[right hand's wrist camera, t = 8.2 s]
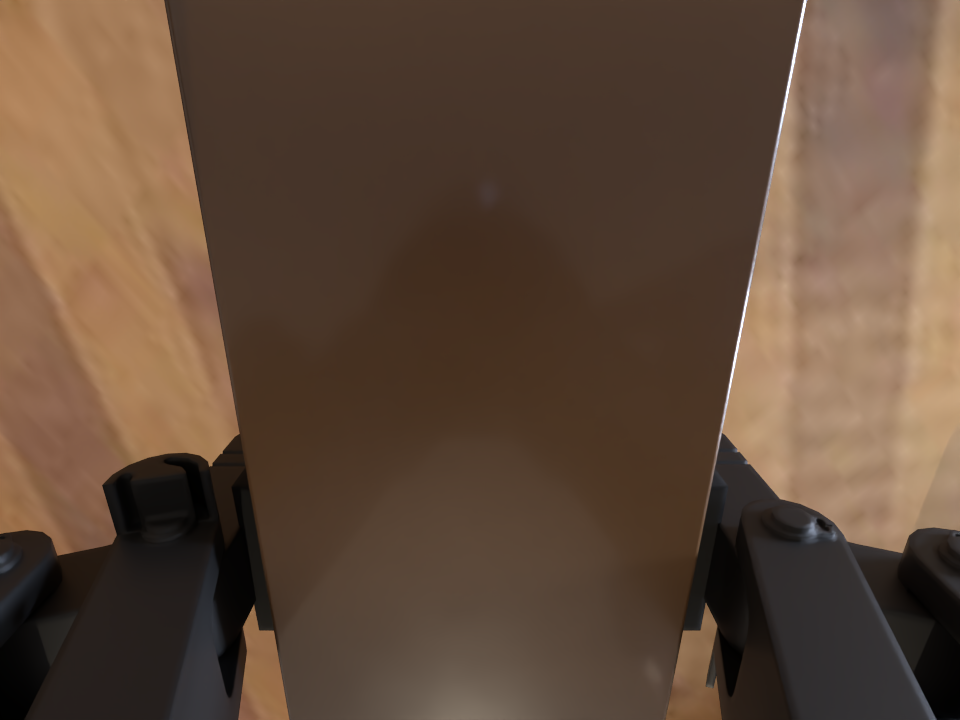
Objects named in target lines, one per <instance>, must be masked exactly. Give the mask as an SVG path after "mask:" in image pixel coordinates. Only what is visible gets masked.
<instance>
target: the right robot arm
mask: <svg viewBox="0 0 960 720" xmlns="http://www.w3.org/2000/svg"><path fill="white" fill-rule="evenodd" d="M102 486H103V490H104V493H105V496H106V500H107V503H108V506H109V510H110V513H111V517H112V520H113V523H114V527H115V530H116V533H117V536H116V538H115V540H114V542H113V544H112V545H108V546H104V547H99V548H94V549H89V550H84V551H79V552H74V553H69V554H64V555H59V556H57V553H56V551H55V548H54V545H53V542H52V539H51V538H50V537H49V536H47V535H46V534H45V533H43V532H38V531H29V530H25V531H18V532H10V533H3V534H0V720H238V716H239V708H240V701H241V693H242V685H243V677H244V669H245V661H246V654H247V649H246V642H245V636H244V631H243V625H244V623H245V621H246V619H247V617H248V615H249V613H250V611H251V609H252V607H253V605H254V606H255V611H256V616H257V621H258V626H259V630H274V627H273V621H272V616H271V610H270V604H269V599H268V593H267V587H266V581H265V576H264V570H263V564H262V558H261V553H260V547H259V541H258V535H257V530H256V524H255V518H254V512H253V507H252V501H251V495H250V489H249V484H248V478H247V472H246V466H245V461H244V455H243V449H242V443H241V438H240V434H239V435H237V436H236V437H235V438H234V439H233V440H232V441H231V442H230V443H229V445H228V446H227V447H226V448H225V449H224V450H223V454H220V455H219V456H218V458H217V459H216V460H215V461H214V462H213V466H210V467H209V465H208V461H206V460H205V459H204V458H202V457H201V456H199V455H194V454H189V453H173V454H164V455H159V456H155V457H150V458H147V459H144V460H141V461H139V462H136V463H133V464H131V465H128V466H127V467H125V468H123V469H121V470H120V471H118V472H116V473H115V474H113V475H112V476H111V477H110V478H109V479H108V480H107V481H106V482H105V483H104V484H103V485H102ZM705 603H707V605H708V607H709V609H710V611H711V613H712V615H713V617H714V619H715V621H716V623H717V625H718V627H717V631H716V636H715V641H714V646H713V650H712V655H711V660H710V665H709V669H708V674H707V681H706V687H710V688H714V683H715V679H716V676H717V684H718V691H719V699H720V707H721V715H722V720H960V531H956V530H947V529H940V528H926V529H918V530H916V531H915V532H914V533H912V534H911V535H909V538H908V541H907V543H906V546H905V549H904V552H903V553H898V552H893V551H888V550H883V549H878V548H873V547H868V546H863V545H858V544H854V543H850V542H847V541H846V539H845V537H844V535H843V534H842V532H841V531H840V530H839V529H838V527H837V526H836V525H835V524H834V523H833V522H832V521H830V520H829V519H828V518H826V517H825V516H823V515H822V514H820V513H819V512H817V511H815V510H812V509H810V508H808V507H805V506H803V505H801V504H797V503H793V502H789V501H785V500H781V499H779V498H778V496H777V495H776V494H775V493H774V492H773V491H772V489H771V488H770V487H769V486H768V485H767V484H766V482H765V481H764V480H763V479H762V478H761V477H760V475H759V474H758V473H757V472H756V471H755V470H754V468H753V467H752V466H751V465H750V464H747V460H746V459H745V458H744V457H743V456H742V454H741V453H740V452H737V449H736V447H735V446H734V445H733V444H732V443H731V442H730V440H729V439H728V438H727V437H726V436H725V435H724V434H721V439H720V444H719V449H718V455H717V460H716V465H715V470H714V475H713V480H712V485H711V490H710V495H709V500H708V505H707V511H706V516H705V521H704V526H703V531H702V536H701V541H700V546H699V551H698V556H697V561H696V566H695V572H694V577H693V582H692V587H691V592H690V597H689V602H688V607H687V612H686V617H685V622H684V628H683V630H700V629H701V624H702V619H703V614H704V609H705Z"/></svg>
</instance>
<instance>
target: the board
mask: <svg viewBox="0 0 960 720" xmlns="http://www.w3.org/2000/svg"><path fill="white" fill-rule="evenodd" d="M164 1H165V7H166V13H167V18H168V24H169V30H170V36H171V41H172V47H173V53H174V58H175V64H176V70H177V76H178V81H179V87H180V93H181V99H182V104H183V110H184V116H185V122H186V127H187V133H188V139H189V145H190V150H191V156H192V162H193V168H194V173H195V179H196V185H197V191H198V196H199V202H200V208H201V214H202V219H203V225H204V231H205V237H206V242H207V248H208V254H209V260H210V265H211V271H212V277H213V283H214V288H215V294H216V300H217V306H218V311H219V317H220V323H221V328H222V334H223V340H224V346H225V351H226V357H227V363H228V369H229V374H230V380H231V386H232V392H233V397H234V403H235V409H236V415H237V420H238V426H239V432H240V438H241V443H242V449H243V455H244V461H245V466H246V472H247V478H248V484H249V489H250V495H251V501H252V507H253V512H254V518H255V524H256V530H257V535H258V541H259V547H260V553H261V558H262V564H263V570H264V576H265V581H266V587H267V593H268V599H269V604H270V610H271V616H272V621H273V627H274V633H275V639H276V644H277V650H278V656H279V662H280V667H281V673H282V679H283V685H284V690H285V696H286V702H287V708H288V713H289V719H290V720H665V719H666V714H667V709H668V704H669V699H670V694H671V689H672V683H673V678H674V673H675V668H676V663H677V658H678V653H679V648H680V643H681V638H682V633H683V628H684V622H685V617H686V612H687V607H688V602H689V597H690V592H691V587H692V582H693V577H694V572H695V566H696V561H697V556H698V551H699V546H700V541H701V536H702V531H703V526H704V521H705V516H706V511H707V505H708V500H709V495H710V490H711V485H712V480H713V475H714V470H715V465H716V460H717V455H718V449H719V444H720V439H721V434H722V429H723V424H724V419H725V414H726V409H727V404H728V399H729V394H730V388H731V383H732V378H733V373H734V368H735V363H736V358H737V353H738V348H739V343H740V338H741V332H742V327H743V322H744V317H745V312H746V307H747V302H748V297H749V292H750V287H751V282H752V277H753V271H754V266H755V261H756V256H757V251H758V246H759V241H760V236H761V231H762V226H763V221H764V215H765V210H766V205H767V200H768V195H769V190H770V185H771V180H772V175H773V170H774V165H775V160H776V154H777V149H778V144H779V139H780V134H781V129H782V124H783V119H784V114H785V109H786V104H787V98H788V93H789V88H790V83H791V78H792V73H793V68H794V63H795V58H796V53H797V48H798V43H799V37H800V32H801V27H802V22H803V17H804V12H805V7H806V2H807V0H164Z"/></svg>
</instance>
